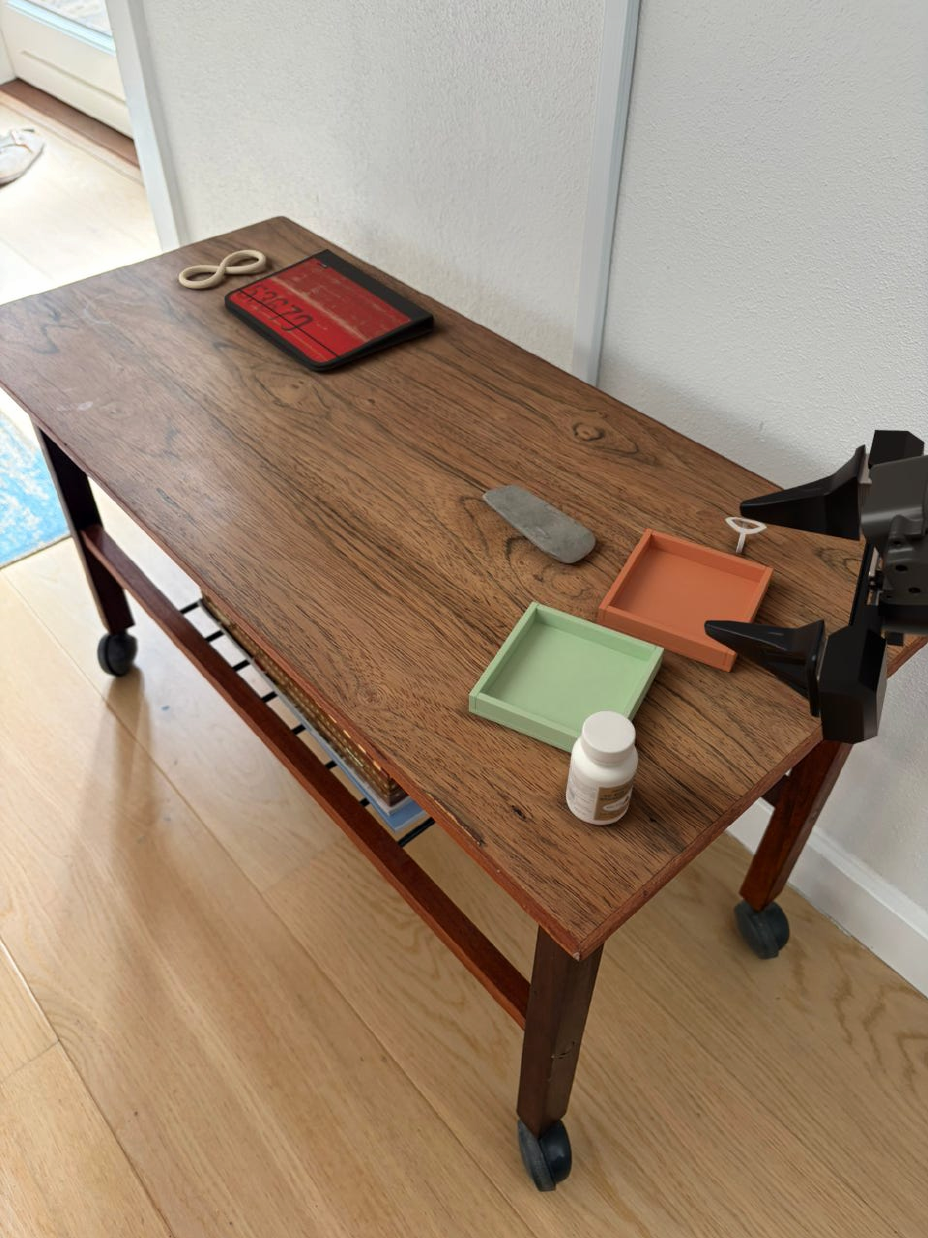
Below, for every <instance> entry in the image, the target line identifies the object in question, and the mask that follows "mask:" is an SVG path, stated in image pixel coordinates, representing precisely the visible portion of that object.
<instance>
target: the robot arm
mask: <svg viewBox="0 0 928 1238" xmlns="http://www.w3.org/2000/svg"><path fill="white" fill-rule="evenodd" d="M925 443H926V442H925V441H924V440H922V439H920V438H919V437H918V436H917V435H915V434H913V433H912V432H911V431H909V430H902V429H901V430H898V429H897V430H895V429H874V432H873V437H872V441H871V445H870V449H869V453H868V452H867V445H866V444H864V443H863V444H861V445H859V446H857V447H856V448H855V451H854V454H853V455H852V457H850V459H848V461H846V462H845V463H844V464H843V465H842V466H840V468H839V469H837V470H836V471H835V472H834V473H832V474H830V475H827V476H825V477H821V478H819V479H817V480H813V481H810V482H807V483H804V484H800V485H797V486H793V487H790V488H786V489H782V490H779V491H775V492H771V493H768V494H764V495H760V496H756V497H753V498H750V499H745V500H742V501H740V503H739V507H738V508H739V509H738V510H739V514H740V516H741V518H743V519H748V520H752V521H757V522H760V523H762V524H764V525H769V526H770V525H771V526H776V527H780V528H786V529H792V530H797V531H801V532H808V533H813V534H817V535H823V536H829V537H834V538H838V539H844V540H850V541H855V542H861V537H862V535H863V538H864V539H865V544H864V549H863V553H862V558H861V563H860V567H859V572H858V576H857V581H856V585H855V591H854V595H853V599H852V605H851V609H850V614H849V618H848V623H847V625H845V626H843V627H840V629H838V630H836V631H834V632H832V633H830V634H829V635H828V636H827V634H826V623H825V619H819V620H815V621H813V622H810V623H807V624H805V625H802V626H799V627H786V626H778V625H769V624H764V623H763V624H762V623H754V622H752V623H747V622H739V621H731V620H707V621H705V623H704V630H705V633H706V635H707V636H709V637H711V638H712V639H714V640H716V641H717V642H719V643H721V644H722V645H724V646H726V647H728V648H729V649H731V650H733V651H734V652H736V653H738V655H739V656H741V657H743V658H745V659H746V660H748V661H750V662H751V663H753V664H754V665H756V666H758V667H760V668H761V669H763V670H764V671H767V672H768V673H770V674H771V675H773V676H774V677H776V678H777V679H778V680H779V681H781V682H782V683H784V684H785V685H786V686H788V687H789V688H790V689H792V690H793V691H795V693H797V694H799V695H800V696H801V697H802V698H804V699H805V700H807V701H808V704H809V705H808V706H809V712H810V717H813V718H817V719H820V724H821V725H820V726H821V734H822V740H824V741H830V742H836V743H841V744H842V743H843V744H847V745H856V744H860V743H863V742H866V741H868V740H871V739H874V738H877V737H878V735H879V729H880V724H881V718H882V712H883V709H884V704H885V703H884V702H885V698H886V693H887V687H888V646H892V647H901V648H904V645H905V641H906V635H910V636H920V637H927V638H928V454H925V445H926V444H925ZM881 560H882V561H881ZM880 563H881V565H880ZM880 566H881V567H880ZM879 567H880V569H879ZM870 593H871V594H870ZM869 598H870V599H869ZM868 602H869V603H868ZM883 633H884V637H883V635H882V634H883Z"/></svg>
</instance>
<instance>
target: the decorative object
mask: <svg viewBox="0 0 928 1238" xmlns="http://www.w3.org/2000/svg"><path fill="white" fill-rule="evenodd" d="M249 257H250V258H255V259H258V261H256V262H255V263H251V264H247V265H241V266H230V265H231V263H233V262H234V261H236V260H239V259H243V258H249ZM266 263H267V258H266V255H265V254H263V252H260V251H259V250H255V249H242V250H238V251H235V252H233V253H231V254H229V255H227V256H226V257H225V258H224V259H223V260H222V261H221V263H219V265H213V264H212V265H211V264H210V265H209V264H199V265H193V266H190V267H186V268H185V269H183V270H182V271H181V272H180V273H179V274H178V281H179V283H180V284H181V285H182V286H184V287H186V288H189V289H195V290H196V289H197V290H198V289H204V288H208V287H211V286H213V285H215V284H216V283H218V282H219V281H220V280H221V279H222V277H223V276H224V274H226V275H235V274H237V275H239V274H247V273H253V272H255V271H258V270H260V269H261V268H263V267H264V266H265V265H266ZM198 273H199V274H200V273H214V274H213V275H212V276H210V277H209V278H206V279H204V280H198V281H194V280H189V279H187V277H189V276H191V275H195V274H198Z"/></svg>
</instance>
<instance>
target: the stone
mask: <svg viewBox="0 0 928 1238" xmlns="http://www.w3.org/2000/svg"><path fill="white" fill-rule="evenodd" d="M482 500H484V502H485V503H486V504H487V505H488V506H490V507H491V509H493V510H494V511H495V512H496V513H497V514H499V516H500V517H501V518H503V520H505V521H506V522H507V523H508V524H510V525H511V526H512V527H513V528H514V529H515V530H517V531H518V532H519V533H520V534H521V535H523V536H524V537H525V538H526V539H527V540H528V541H530V542H531V543H532V544H533V545H534V546H535V547H536V548H538V549H539V550H541V552H543V553H545V554H546V555H547V556H549V557H551V558H553V559H554V560H557V561H559V562H560V563H561V562H562V563H564V564H573V563H576V562H578V561H581V560H582V559H583V558H585V557H586V556H588V555H589V554H590V553H591V552H592V550H593V549H594V548H595V545H596V537H595V534H594V533H593V532H592V531H591V530H590V529H588V528H587V527H585V526H584V525H583V524H582V523H580V522H579V521H578V520H575V519H574V518H573V517H571V516H569V515H568V514H567V513H565V512H563V511H562V510H560V509H559V508H557V507H555V506H554V505H552V504H551V503H549V502H547V501H545V500H544V499H541V498H540V497H538V496H536V495H534V494H533V493H532V492H531V491H528V490H527V489H525V488H523V487H520V486H518V485H516V484H508V485H506V486H500V487H496V488H492V489H489V490H488V491H486V492H485V493H484V494H482Z"/></svg>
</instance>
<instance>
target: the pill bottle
mask: <svg viewBox="0 0 928 1238" xmlns="http://www.w3.org/2000/svg"><path fill="white" fill-rule="evenodd" d="M635 743H636V728H635V726H634V724H633V722H630V720H629V719H627V718H626V717H625V716H623V715H621V714H619V713H616V712H612V711H601V712H597V713H594V714H592V715H591V716H589V717H588V718H587V719H586V721H585V722H584V724H583V728H582V734H581V737H580V738H578V740H577V741H576V742H575V744H574V746H573V750H572V753H571V755H570V763H569V771H568V776H567V783H566V792H565V799H566V803H567V806H568V808H569V810H570V812H572V814H573V815H574V816H576V817H577V818H578V819H579V820H581V821H583V822H585V823H588V824H591V825H596V826H607V825H610V824H614V823H616V822H618V821H620V819H621V818H622V817H624V816H625V814H626V813H627V811H628V809H629V805H630V801H631V797H632V792H633V787H634V783H635V779H636V775H637V768H638V766H639V754H638V751H637V748H636V746H635Z"/></svg>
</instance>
